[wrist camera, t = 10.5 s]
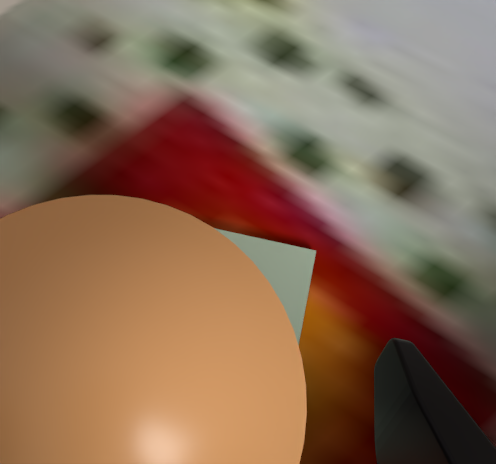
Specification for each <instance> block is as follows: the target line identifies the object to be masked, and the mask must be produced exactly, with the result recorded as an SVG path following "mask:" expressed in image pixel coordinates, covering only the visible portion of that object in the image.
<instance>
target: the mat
mask: <svg viewBox="0 0 496 464" xmlns="http://www.w3.org/2000/svg"><path fill="white" fill-rule="evenodd" d="M214 229H215V228H214ZM216 230H217V231H218V232H220V233H221V234H222V235H224V236H225V237H226V238H228V239H229V240H230V241H232V242H233V243H234V244H235V245H236V246H237V247H239V248H240V249H241V250H242V251H243V252H244V253H245V254H246V255H247V256H248V257H249V258H250V259H251V260H252V261H253V262H254V264H255V265H256V266H257V267H258V269H259V270H260V271H261V272H262V274H263V275H264V276H265V278H266V279H267V280H268V281H269V283H270V284H271V286H272V288H273V289H274V291H275V293H276V294H277V296H278V298H279V299H280V301H281V303H282V305H283V306H284V309H285V311H286V313H287V316H288V318H289V320H290V323H291V325H292V327H293V329H294V332H295V336H296V339H297V343H298V346H299V340H300V335H301V330H302V324H303V319H304V314H305V308H306V303H307V298H308V292H309V287H310V282H311V276H312V271H313V265H314V260H315V255H316V250H311V249H306V248H302V247H297V246H293V245H288V244H284V243H279V242H275V241H270V240H265V239H261V238H256V237H252V236H247V235H243V234H238V233H234V232H229V231H225V230H220V229H216Z"/></svg>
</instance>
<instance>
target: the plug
mask: <svg viewBox="0 0 496 464" xmlns="http://www.w3.org/2000/svg"><path fill="white" fill-rule="evenodd" d="M306 417H307V402H306V382H305V375H304V369H303V363H302V357H301V353H300V350H299V346H298V343H297V339H296V336H295V332H294V329H293V327H292V325H291V323H290V320H289V318H288V316H287V313H286V311H285V309H284V306H283V305H282V303H281V301H280V299H279V298H278V296H277V294H276V293H275V291H274V289H273V288H272V286H271V284H270V283H269V281H268V280H267V279H266V278H265V276H264V275H263V274H262V272H261V271H260V270H259V269H258V267H257V266H256V265H255V264H254V262H253V261H252V260H251V259H250V258H249V257H248V256H247V255H246V254H245V253H244V252H243V251H242V250H241V249H240V248H239V247H237V246H236V245H235V244H234V243H233V242H232V241H230V240H229V239H228V238H226V237H225V236H224V235H222V234H221V233H220V232H218V231H217V230H216V229H214V228H213V227H211V226H209V225H208V224H206V223H204V222H202V221H201V220H199V219H197V218H195V217H194V216H192V215H190V214H187V213H185V212H182V211H180V210H177V209H175V208H172V207H170V206H168V205H164V204H160V203H157V202H153V201H149V200H145V199H141V198H134V197H126V196H119V195H83V196H75V197H66V198H60V199H56V200H52V201H47V202H43V203H39V204H35V205H32V206H30V207H27V208H24V209H22V210H19V211H17V212H14V213H11V214H9V215H7V216H5V217H3V218H1V219H0V464H300V459H301V454H302V450H303V445H304V439H305V428H306Z"/></svg>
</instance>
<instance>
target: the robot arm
mask: <svg viewBox="0 0 496 464" xmlns="http://www.w3.org/2000/svg"><path fill="white" fill-rule="evenodd" d="M374 429H375V449H376V459H377V464H496V448H495V447H494V445H493V444H492V443H491V442H490V440H489V439H488V438H487V436H486V435H485V434H484V433H483V431H482V430H481V429H480V428H479V426H478V425H477V424H476V422H475V421H474V420H473V419H472V417H471V416H470V415H469V414H468V412H467V411H466V410H465V408H464V407H463V406H462V405H461V403H460V402H459V401H458V400H457V398H456V397H455V396H454V395H453V393H452V392H451V391H450V389H449V388H448V387H447V386H446V384H445V383H444V382H443V381H442V379H441V378H440V377H439V375H438V374H437V373H436V372H435V370H434V369H433V368H432V367H431V365H430V364H429V363H428V361H427V360H426V359H425V358H424V356H423V355H422V354H421V353H420V351H419V350H418V349H417V347H416V346H415V345H414V344H413V343H412V342H410V341H407V340H403V339H398V338H392V339H390V340H389V341H388V343H387V344H386V346H385V348H384V349H383V351H382V353H381V355H380V356H379V358H378V360H377V362H376V364H375V369H374Z"/></svg>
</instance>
